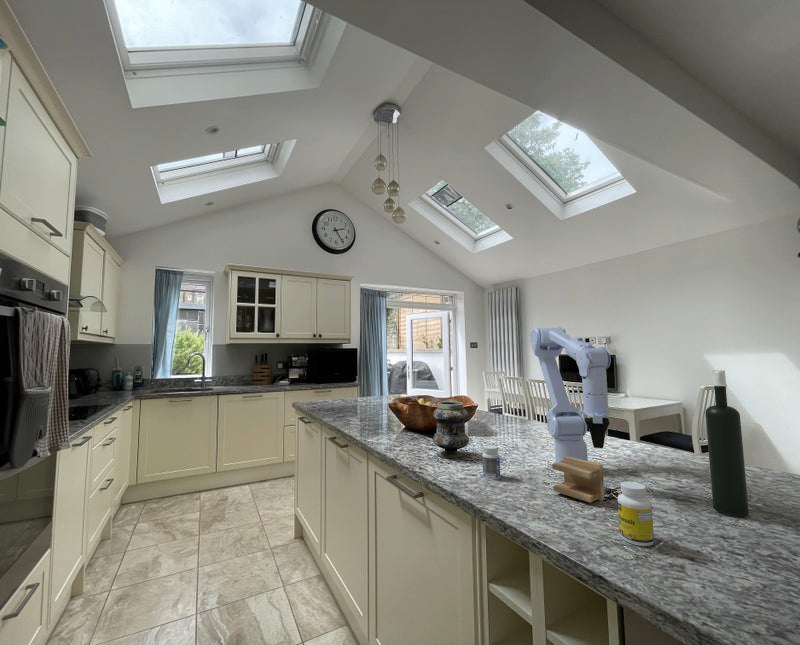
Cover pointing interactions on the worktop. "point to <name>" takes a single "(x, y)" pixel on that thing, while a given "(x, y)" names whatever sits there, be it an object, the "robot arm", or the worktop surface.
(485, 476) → the pill bottle
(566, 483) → the tan notched block
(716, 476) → the wine bottle
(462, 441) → the dark grey vase
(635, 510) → the supplement bottle
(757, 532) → the worktop surface
